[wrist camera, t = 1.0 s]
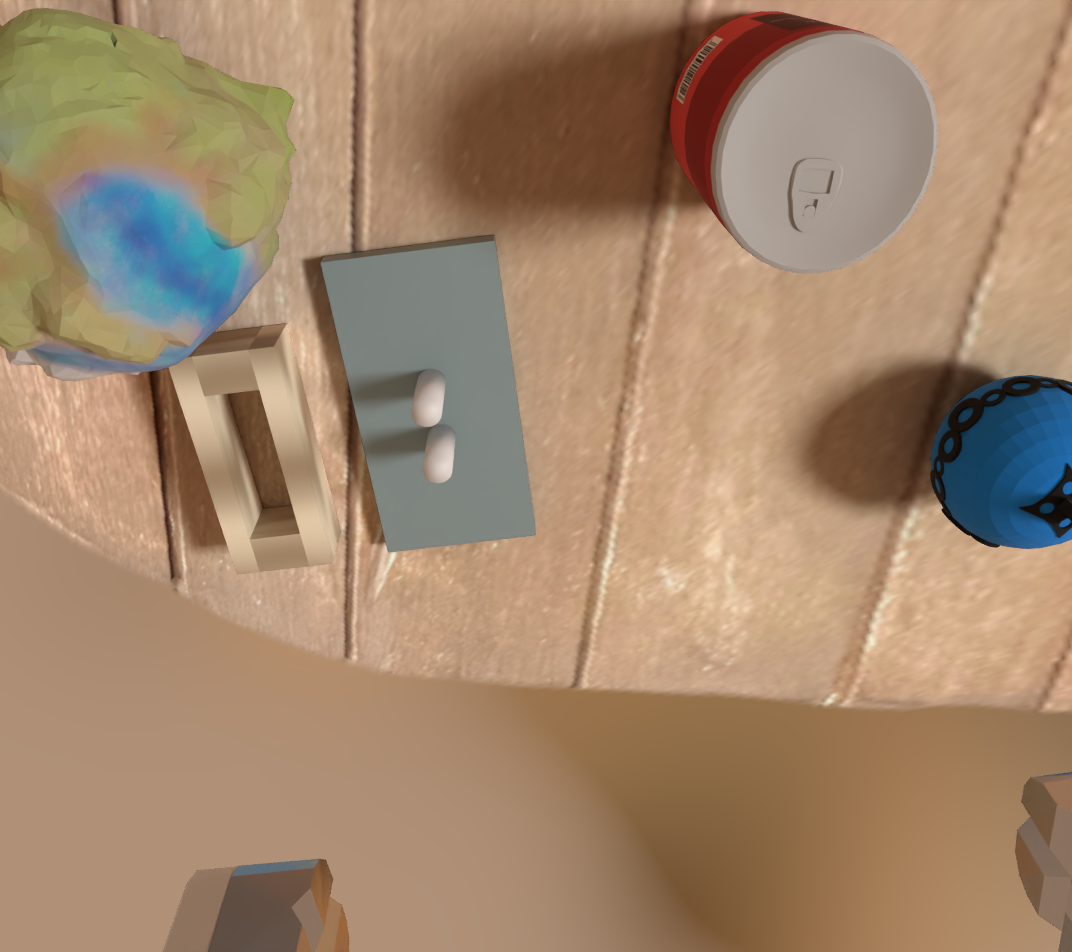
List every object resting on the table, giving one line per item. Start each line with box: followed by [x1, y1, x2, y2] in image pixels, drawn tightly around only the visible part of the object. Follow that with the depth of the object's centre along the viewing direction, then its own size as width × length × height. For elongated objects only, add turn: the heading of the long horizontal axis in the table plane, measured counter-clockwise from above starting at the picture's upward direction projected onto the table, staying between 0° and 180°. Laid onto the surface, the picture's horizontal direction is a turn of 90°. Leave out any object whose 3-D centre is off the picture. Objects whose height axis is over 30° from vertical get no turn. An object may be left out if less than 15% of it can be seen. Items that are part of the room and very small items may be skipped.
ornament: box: [930, 375, 1072, 549], centre depth 46 cm, size 9×9×10 cm
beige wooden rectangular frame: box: [168, 324, 341, 574], centre depth 48 cm, size 12×5×3 cm, turn 7°
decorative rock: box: [0, 8, 296, 381], centre depth 36 cm, size 14×16×15 cm
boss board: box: [320, 235, 536, 552], centre depth 46 cm, size 16×8×4 cm, turn 7°
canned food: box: [670, 12, 938, 273], centre depth 37 cm, size 8×8×11 cm
